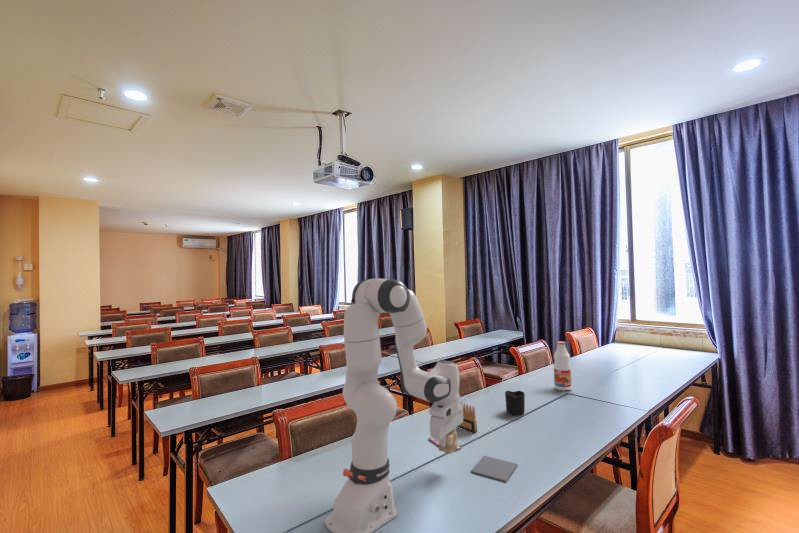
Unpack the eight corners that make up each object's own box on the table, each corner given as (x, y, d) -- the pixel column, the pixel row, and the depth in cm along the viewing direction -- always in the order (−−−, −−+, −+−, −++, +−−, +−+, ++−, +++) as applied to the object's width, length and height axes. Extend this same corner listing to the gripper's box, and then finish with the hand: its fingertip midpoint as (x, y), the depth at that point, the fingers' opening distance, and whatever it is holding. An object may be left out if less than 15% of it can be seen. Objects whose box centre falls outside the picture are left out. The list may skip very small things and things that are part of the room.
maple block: (451, 453, 137) (451, 436, 137) (438, 450, 140) (438, 433, 140) (457, 448, 141) (457, 432, 141) (445, 445, 144) (444, 429, 144)
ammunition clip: (477, 432, 172) (476, 405, 172) (474, 433, 170) (473, 406, 171) (458, 425, 180) (457, 400, 180) (456, 426, 179) (455, 401, 179)
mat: (506, 482, 131) (506, 480, 131) (470, 472, 138) (470, 470, 138) (517, 465, 142) (517, 464, 142) (484, 457, 149) (484, 455, 149)
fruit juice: (574, 389, 228) (572, 341, 228) (566, 392, 222) (564, 344, 223) (559, 385, 235) (558, 340, 236) (551, 388, 230) (549, 342, 230)
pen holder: (518, 417, 187) (517, 397, 187) (502, 412, 194) (501, 393, 194) (528, 412, 193) (528, 392, 193) (512, 408, 200) (511, 388, 200)
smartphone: (441, 436, 170) (462, 450, 156) (427, 440, 166) (447, 454, 153) (441, 434, 170) (462, 447, 156) (427, 438, 166) (447, 451, 153)
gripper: (452, 396, 151) (452, 431, 151) (426, 411, 134) (426, 451, 134) (467, 398, 148) (467, 435, 148) (442, 414, 131) (443, 455, 131)
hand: (447, 442), depth 141 cm, fingers closed on maple block, 5 cm apart
